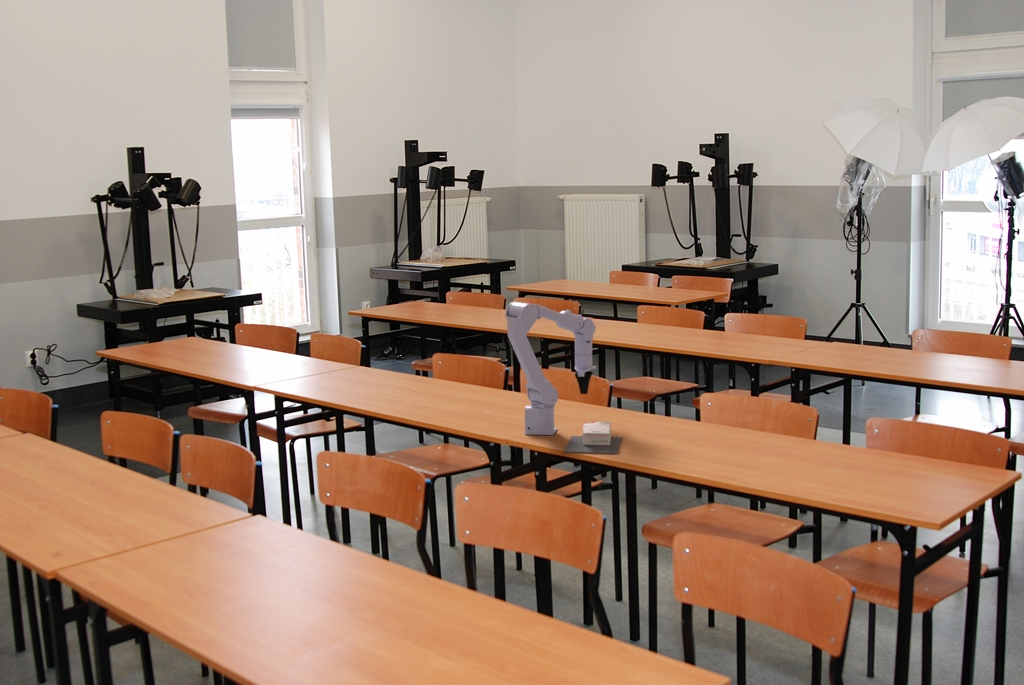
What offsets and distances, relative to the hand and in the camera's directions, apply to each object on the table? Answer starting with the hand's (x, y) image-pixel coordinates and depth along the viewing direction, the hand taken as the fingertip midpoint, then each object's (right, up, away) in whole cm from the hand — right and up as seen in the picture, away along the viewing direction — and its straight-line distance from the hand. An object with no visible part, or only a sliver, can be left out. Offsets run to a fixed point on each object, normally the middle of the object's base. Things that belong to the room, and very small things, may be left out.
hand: (583, 393), depth 328 cm
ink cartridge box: (+3, -10, -15) cm, 19 cm away
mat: (+1, -15, -25) cm, 29 cm away
